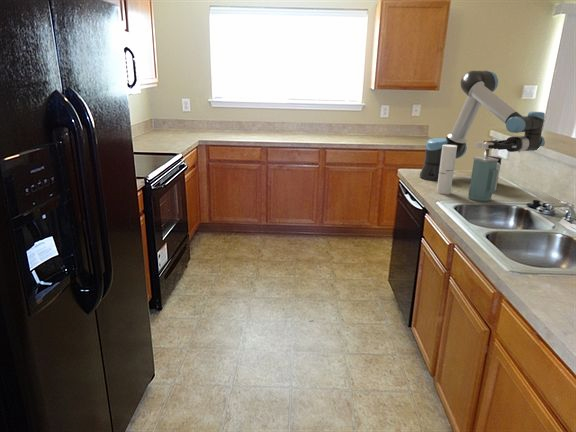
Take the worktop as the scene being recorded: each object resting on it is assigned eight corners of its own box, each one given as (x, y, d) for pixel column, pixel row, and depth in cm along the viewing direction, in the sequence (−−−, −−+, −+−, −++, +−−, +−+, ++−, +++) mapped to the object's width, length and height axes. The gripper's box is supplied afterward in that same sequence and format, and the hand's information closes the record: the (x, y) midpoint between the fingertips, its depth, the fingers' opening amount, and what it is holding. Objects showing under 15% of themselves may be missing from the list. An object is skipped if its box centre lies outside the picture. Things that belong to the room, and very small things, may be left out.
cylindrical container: (451, 194, 229) (458, 147, 221) (437, 193, 230) (443, 146, 222) (449, 191, 236) (455, 145, 228) (435, 190, 237) (441, 144, 229)
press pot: (463, 197, 225) (469, 156, 218) (479, 195, 228) (486, 155, 222) (482, 203, 213) (489, 161, 207) (499, 202, 217) (506, 160, 210)
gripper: (528, 154, 213) (490, 156, 205) (502, 148, 227) (466, 150, 220) (531, 138, 210) (493, 140, 203) (504, 134, 225) (468, 135, 218)
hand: (479, 145), depth 211 cm, fingers closed on plunger, 4 cm apart
